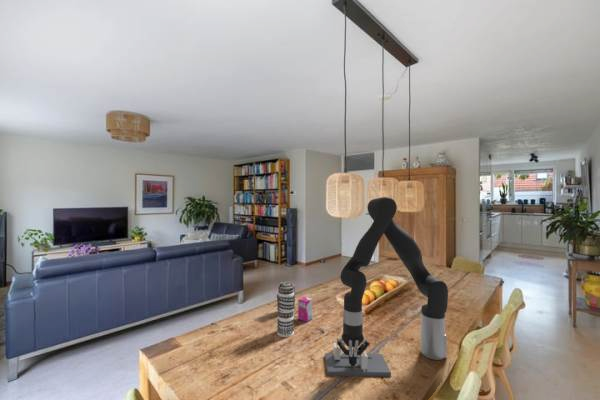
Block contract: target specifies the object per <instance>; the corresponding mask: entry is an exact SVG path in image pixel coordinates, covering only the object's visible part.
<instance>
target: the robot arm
mask: <svg viewBox="0 0 600 400" xmlns="http://www.w3.org/2000/svg"><path fill="white" fill-rule="evenodd" d="M397 208H398V207H397V203H396V201H395V199H394V198H392V197H389V196H383V197H377V198H374V199H371V200H370V201H369V202H368V203H367V213H368V215H369V216H370V217H371V219H372V220H373V222H372V223H371V225H370V227H368V230H367V231H366V232H365V233H364V234H363V235H362V236H361V238H360V239H359V242H358V243H357V245H356V247H355V250H354V252H353V253H352V256H351V258H350V259H349V260H348V261H347V262H346V264H345V265H344V267H343V268H342V269H341V272H340V282H341V283H342V284H343V285H345V286H347V287H349V288H350V292H349V291H348V292H346V293H344V296H343V312H342V313H343V314H342V334H341V337H340V338H337V339H336V342H337V344H338V346H339V347H340V348H341V351H342V353H343V354H345V355H349V363H350V364H351V366H355V364H356V363H357V355H361V354H362V353H363V352H364V351H366V349H367V348H368V347H369V346H370V342H369V341H368V339H367V338H365V337H364V335H363V333H364V332H363V331H364V329H363V327H364V326H363V324H364V323H363V322H364V316H363V297H364V294H365V291H366V288H367V278H366V274H364V272H363V271H360V269H361V268H364V267H365V268H367V267H368V266H369V264H370V263H371V260H372V258H373V256H374V253H375V250H376V248H377V246H378V244H379V242H380V241H381V238H382V237H383V235H384V236H385V238H386V239H387V240H388V243H389V244H390V245H391V247H392V248H393V251H395V254H397V256H398V258H399V259H400V261H401V263H403V265H404V266H405V268H406V269H407V271H408V272H409V274H410V275H411V278H412V280H413V281H414V283H415V285H416V288H417V289H418V291H419V292H420V293H421V294H422V295H423V296H424V297H426V298H427V301H426V302H427V303H426V304H423V305H422V306H421V309H420V311H421V312H420V315H421V316H420V317H421V318H420V319H421V321H420V353H421V354H422V356H424V357H425V358H427V359H430V360H435V361H440V360H441V361H442V360H443V359H447V358H448V356H447V355H448V354H447V353H448V348H447V347H448V340H447V338H448V336H447V334H446V330H445V329H446V312H447V310H448V303H449V301H448V300H449V289H448V285H447V283H446V282H445V281H444V280H442V279H440V278H437V277H435V276H433V275H432V274H431V273H430V272H429V271H428V268H427V267H426V266H425V264H424V262H423V256H422V255H423V254H422V251H421V249H420V246H419V245H418V244H417V242H416V240H415V239H414V238H413V237H412V236H411V235H410V233H408V232H407V231H406V230H404V229H403V228H402V227H400V226H399V225H398V223H396V222H395V221H394V217H395V215H396V213H397ZM344 344H345V345H344ZM345 346H347V348H346V347H345Z"/></svg>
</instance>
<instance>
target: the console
mask: <svg viewBox="0 0 600 400" xmlns="http://www.w3.org/2000/svg"><path fill="white" fill-rule="evenodd" d="M366 354H367V356H368V370H361V367H360V364H359V355H357V363H356V364H355V366H351V364H350V363H349V355H345V354H344V353H341V360H335V359H334V354H333V353H327V352H325V353H324V359H325V365H326V371H327V372H326V373H327V376H331V377H332V376H335V377H337V376H338V377H340V376H342V377H343V376H344V377H347V376H348V377H392V372H391V370H390V367H389V365H388V363H387V362H386V360H385V358H384V355H383V354H382V353H366Z"/></svg>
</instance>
